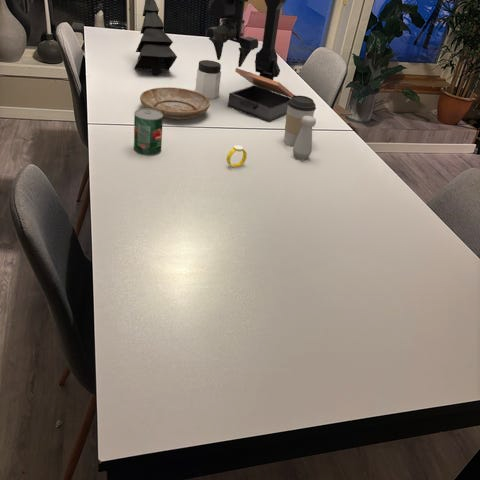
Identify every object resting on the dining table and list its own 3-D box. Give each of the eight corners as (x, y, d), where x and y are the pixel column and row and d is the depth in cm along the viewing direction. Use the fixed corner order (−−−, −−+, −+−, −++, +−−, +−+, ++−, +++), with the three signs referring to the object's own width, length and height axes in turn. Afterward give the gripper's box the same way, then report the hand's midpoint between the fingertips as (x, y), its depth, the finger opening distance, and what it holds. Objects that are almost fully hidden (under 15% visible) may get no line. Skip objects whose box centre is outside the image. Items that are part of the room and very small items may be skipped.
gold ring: (240, 163, 147) (244, 144, 144) (246, 167, 146) (250, 148, 142) (223, 165, 144) (227, 145, 141) (229, 169, 142) (232, 149, 139)
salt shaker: (290, 152, 158) (298, 112, 150) (307, 153, 159) (316, 114, 151) (293, 160, 153) (301, 119, 146) (311, 162, 154) (321, 121, 147)
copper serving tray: (253, 84, 192) (254, 81, 192) (294, 98, 185) (295, 95, 185) (234, 71, 178) (236, 67, 178) (277, 85, 171) (279, 82, 170)
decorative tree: (170, 79, 211) (162, -5, 210) (178, 67, 197) (170, -23, 196) (134, 78, 205) (126, -8, 205) (141, 66, 192) (132, -26, 191)
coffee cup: (310, 141, 167) (320, 97, 159) (304, 151, 160) (314, 105, 151) (284, 134, 169) (292, 90, 160) (277, 144, 162) (285, 98, 153)
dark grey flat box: (251, 97, 195) (253, 85, 192) (291, 112, 188) (293, 99, 185) (224, 107, 183) (226, 94, 180) (266, 123, 175) (268, 109, 172)
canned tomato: (163, 156, 144) (165, 119, 138) (135, 156, 141) (136, 119, 135) (158, 144, 150) (160, 108, 144) (132, 144, 148) (132, 108, 141)
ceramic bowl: (171, 95, 186) (171, 82, 183) (222, 115, 176) (223, 101, 174) (125, 109, 169) (125, 94, 166) (178, 132, 160) (179, 116, 157)
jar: (222, 98, 191) (226, 66, 184) (205, 100, 186) (208, 67, 179) (208, 90, 196) (211, 58, 189) (191, 92, 191) (193, 60, 184)
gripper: (197, 11, 167) (194, 59, 176) (243, 25, 160) (237, 74, 168) (218, 9, 175) (213, 55, 184) (262, 22, 168) (255, 69, 176)
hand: (229, 63), depth 178 cm, fingers open, 9 cm apart
